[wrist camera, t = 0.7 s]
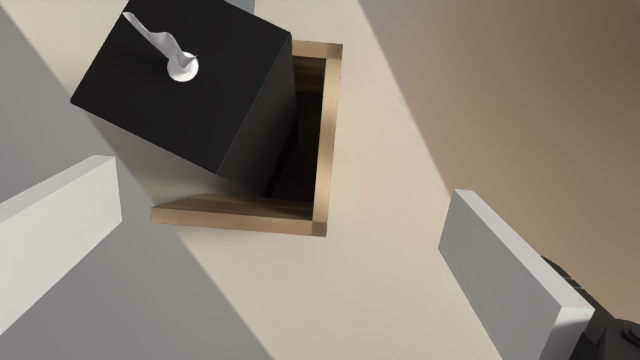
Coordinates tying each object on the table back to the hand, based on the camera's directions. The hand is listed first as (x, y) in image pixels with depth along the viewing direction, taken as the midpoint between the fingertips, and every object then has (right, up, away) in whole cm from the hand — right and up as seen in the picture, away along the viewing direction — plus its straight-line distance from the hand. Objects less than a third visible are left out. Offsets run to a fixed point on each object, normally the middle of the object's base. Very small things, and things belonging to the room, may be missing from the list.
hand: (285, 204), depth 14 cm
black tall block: (-6, +4, +28) cm, 29 cm away
